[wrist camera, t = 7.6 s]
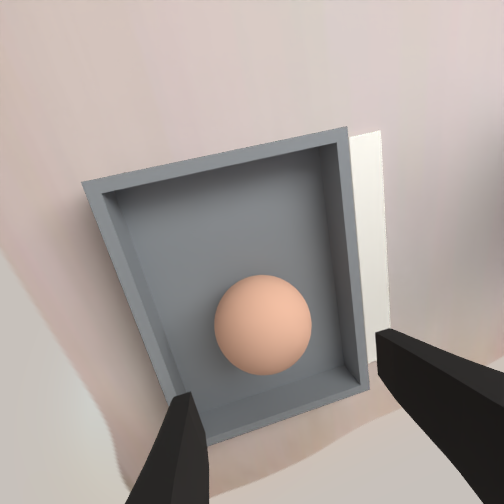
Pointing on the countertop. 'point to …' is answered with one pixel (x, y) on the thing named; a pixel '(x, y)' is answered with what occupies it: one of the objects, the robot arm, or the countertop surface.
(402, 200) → the countertop surface
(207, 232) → the tray
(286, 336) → the ball
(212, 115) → the countertop surface
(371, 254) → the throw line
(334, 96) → the countertop surface
